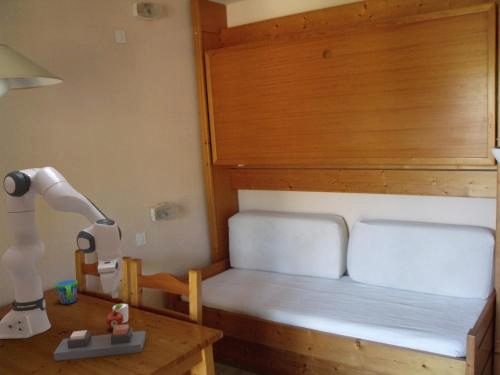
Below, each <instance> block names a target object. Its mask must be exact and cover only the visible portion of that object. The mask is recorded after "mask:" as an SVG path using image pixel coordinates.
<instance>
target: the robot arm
mask: <svg viewBox="0 0 500 375" xmlns="http://www.w3.org/2000/svg"><path fill="white" fill-rule="evenodd" d="M3 188H4V191H5V192H6V201H5V202H6V203H5V206H6V207H5V208H6V210H5V211H6V221H7V230H8V232H10V233H11V236H12V239H13V241H14V245H12V246H11V247H9V248H8V249H7V250H6V251H5V252H4V254H3V255H2V257H1V264H2V267H3V268H4V269H5V270H6V271H7V272H8V274H9V276H10V278H11V281H12V284H13V289H14V290H13V291H14V299H13V301H12V302H11V303H10V308H11V310H10V311H9V312H8V313H6V314H5V315H4V316H3V317H2V319H1V320H0V340H3V339H28V338H31V337H33V336H35V335H39V334H41V333H44V332H46V331H48V330H49V329H51V327H52V324H51V323H50V320H49V318H48V314H47V310H46V309H47V307H46V306H47V305H46V303H47V302H46V299H45V295H44V290H43V283H42V278H41V276H39V275H38V272H37V270H36V267H35V266H36V265H35V264H36V263H38V262H39V261H40V260H41V259H42V257H43V256H44V254H45V251H46V250H45V244H44V243H43V241H41V239H40V235H39V232H38V228H37V218H36V206H35V205H36V204H35V197H36V196H37V195H39V196H40V195H41V196H42V198H43V199H44V201H45V202H46V203H47V205H48V206H49V207H50V208H51V209H53V210H55V211H57V212H64V213H75V214H80V215H82V216H83V217H86V218H87V220H88V221H89V222H90V223H91V224H92V225H91V226H89V227H87V228H84V229H82V230H80V231H79V232H78V234H77V236H76V245H77V247H78V250H79V251H80V252H81V253H84V254H87V255H88V254H93V253H97V262H98V263H97V273H98V274H99V278H100V283H101V287H102V291H103V293H104V294H111V297H112V299H117V298H118V296H119V284H120V282H121V280H122V279H123V269H122V266H123V265H124V262H123V261H124V260H123V253H122V249H121V246H120V244H121V240H122V236H123V233H122V231H121V228H120V226H119V225H118V224H117V222H116V221H115V220H113V219H111V218H110V219H109V218H108V217H107V216H106V215H105V213H103V212H102V211H101V209H99V207H98V206H97V205H96V204H95V203H94V202H92V200H90V199H89V198H88V197H87V196H85V195H83V194H81V193H80V192H79V191H77V190H76V189H74V188H73V187H72V185H71V184H70V183H69V182H68V181H67V179H66V178H65V177H64V176H63V175H62V174H61V173H60V172H59V171H58V170H57V169H56V168H54V167H52V166H43V167H42V168H41V167H40V168H39V167H38V168H37V167H35V168H33V167H32V168H27V169H20V170H14V171H11V172H8V173H7V174H6V175H5V177H4V179H3Z"/></svg>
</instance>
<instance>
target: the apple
mask: <svg viewBox="0 0 500 375" xmlns="http://www.w3.org/2000/svg"><path fill="white" fill-rule="evenodd" d="M122 304H123V303H117V304H115V305H116V306H115V310H117V309H119V308H121V307H122V306H123V305H122ZM115 310H114V312H113V311H112V312H110V313H109V314H107V316H106V318H105V319H106V324H107V326H108V327H109V328H110V329H111V330H113V329H114V327H115V325H123V323H122V322H123V315H122V314H121V313H120V312H115Z"/></svg>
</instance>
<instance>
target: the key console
mask: <svg viewBox="0 0 500 375" xmlns="http://www.w3.org/2000/svg"><path fill="white" fill-rule="evenodd" d="M70 337H71V335H70V336H69V338H63V339H62V340H61V341H60V343H59V345H58V346H57V348H56V349H55V350H54V352H53V360H54V362H57V361H58V362H60V361H67V360H69V361H70V360H79V359H88V358H96V357H109V356H118V355H127V354H136V353H137V354H139V353H142V352H143V348H144V345H145V341H146V339H145V338H147V337H146V331H145V330H140V331H133V327H129V332H128V334H127V335H117V336H114V335H113V331H112V333H110V334H109V333H108V334H101V335H100V334H99V335H92V334H91V331H87V336H86V338H85V339H76V340H71V338H70Z"/></svg>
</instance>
